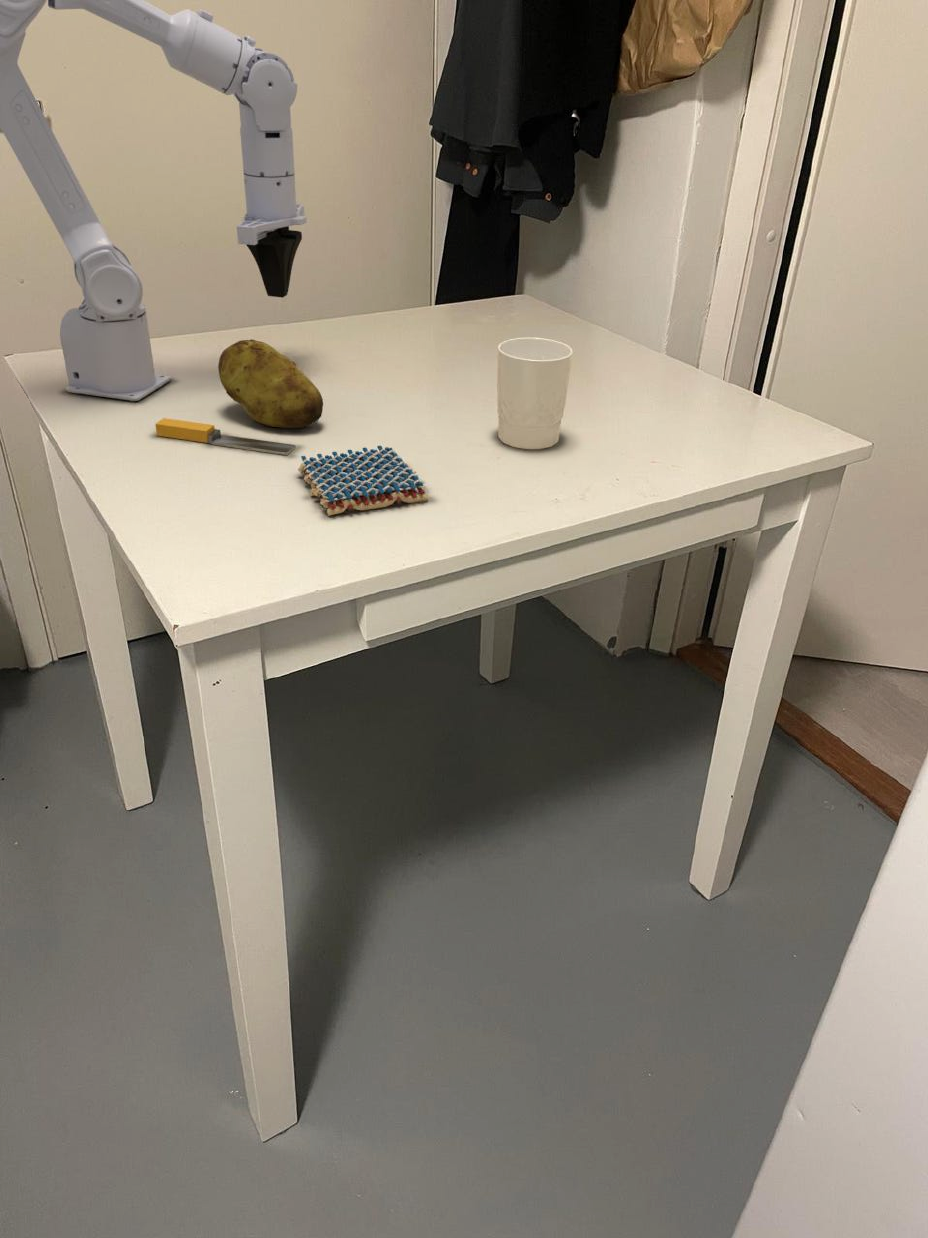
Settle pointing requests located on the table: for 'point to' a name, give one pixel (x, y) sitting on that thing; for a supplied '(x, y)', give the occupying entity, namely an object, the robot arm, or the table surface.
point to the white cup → (532, 391)
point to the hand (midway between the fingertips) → (277, 295)
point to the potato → (269, 385)
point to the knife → (216, 436)
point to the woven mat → (362, 480)
